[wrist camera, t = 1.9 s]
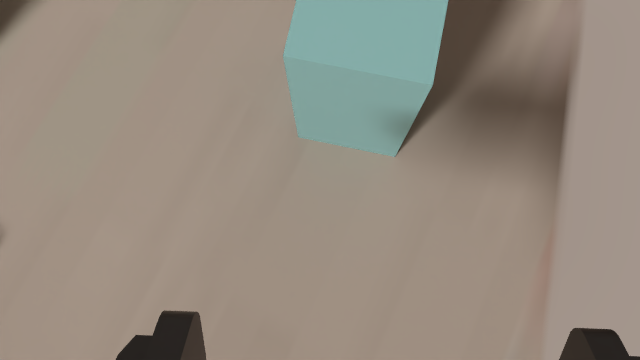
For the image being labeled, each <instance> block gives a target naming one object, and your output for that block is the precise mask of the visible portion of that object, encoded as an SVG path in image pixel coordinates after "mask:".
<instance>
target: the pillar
mask: <svg viewBox="0 0 640 360" xmlns="http://www.w3.org/2000/svg"><path fill="white" fill-rule="evenodd" d="M447 5H448V0H296V4H295V8H294V12H293V16H292V21H291V25H290V29H289V33H288V37H287V41H286V45H285V50H284V54H283V59H284V64H285V69H286V75H287V80H288V85H289V90H290V95H291V101H292V106H293V111H294V116H295V122H296V127H297V132H298V137H300V138H305V139H310V140H315V141H320V142H325V143H330V144H334V145H339V146H344V147H349V148H354V149H359V150H364V151H369V152H374V153H379V154H384V155H389V156H393V157H395V156H396V154H397V152H398V150H399V148H400V146H401V144H402V142H403V141H404V139H405V137H406V135H407V133H408V131H409V129H410V127H411V125H412V124H413V122H414V120H415V118H416V116H417V114H418V112H419V110H420V108H421V107H422V105H423V103H424V101H425V99H426V97H427V95H428V93H429V91H430V90H431V88H432V86H433V81H434V76H435V70H436V65H437V59H438V54H439V48H440V43H441V38H442V32H443V27H444V21H445V16H446V10H447Z"/></svg>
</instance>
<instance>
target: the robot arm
mask: <svg viewBox="0 0 640 360" xmlns="http://www.w3.org/2000/svg"><path fill="white" fill-rule="evenodd" d="M116 360H206V353H205V346H204V340H203V333H202V327H201V320H200V315H199V313H198V312H187V311H163V312H162V313H161V315H160V317H159V319H158V322H157V325H156V328H155V330H154V333H153V336H146V335H136V336H135V337H134V338H133V339H132V340H131V341H130V342H129V343H128V344H127V345H126V346H125V348H124V349H123V350H122V351H121V352H120V353H119V354H118V356H117V358H116ZM559 360H640V357H637V356H629V355H628V353H627V351H626V349H625V347H624V345H623V343H622V341H621V340H620V338H619V336H618V335H617V333H616V332H615V331H613V330H611V329H588V328H574V329H573V330H572V331H571V332H570V334H569V337H568V339H567V342H566V344H565V347H564V349H563V351H562V354H561V357H560V359H559Z"/></svg>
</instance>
